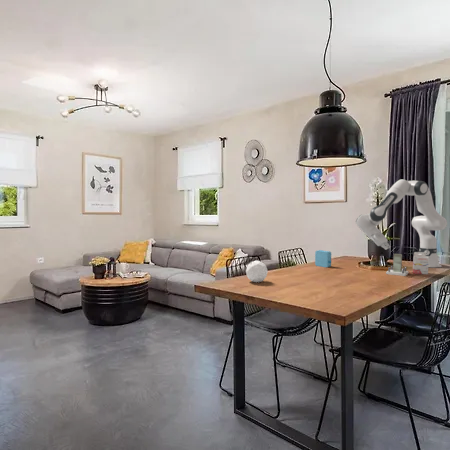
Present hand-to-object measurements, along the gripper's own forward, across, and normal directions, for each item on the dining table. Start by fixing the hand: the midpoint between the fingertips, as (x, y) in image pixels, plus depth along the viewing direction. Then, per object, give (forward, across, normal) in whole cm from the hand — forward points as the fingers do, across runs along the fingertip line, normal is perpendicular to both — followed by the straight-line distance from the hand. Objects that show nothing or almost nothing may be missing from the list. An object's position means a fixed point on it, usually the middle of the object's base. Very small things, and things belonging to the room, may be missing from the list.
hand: (388, 248), depth 258 cm
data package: (-21, 0, +45) cm, 50 cm away
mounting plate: (+16, 0, +8) cm, 18 cm away
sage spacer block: (+15, 0, +7) cm, 17 cm away
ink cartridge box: (+26, +10, -1) cm, 28 cm away
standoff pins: (+15, 0, +7) cm, 17 cm away
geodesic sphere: (-30, -79, +55) cm, 101 cm away
